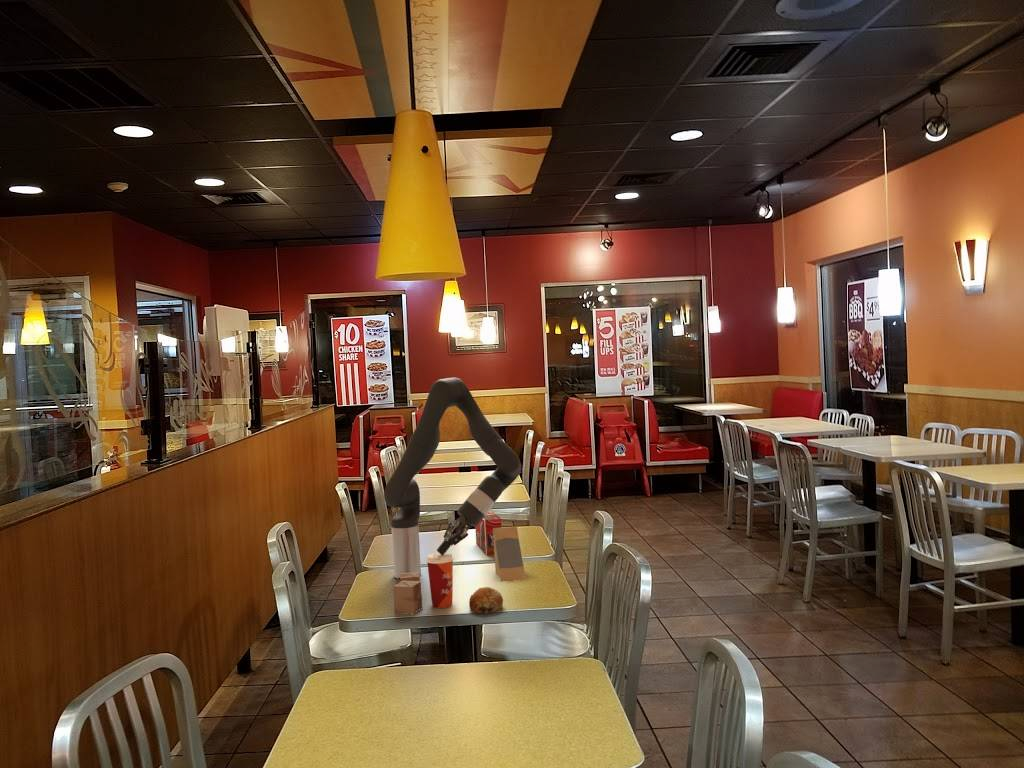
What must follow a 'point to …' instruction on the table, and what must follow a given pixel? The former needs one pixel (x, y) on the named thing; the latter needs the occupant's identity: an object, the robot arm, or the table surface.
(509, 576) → the sandwich container
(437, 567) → the coffee cup
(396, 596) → the three-dot block
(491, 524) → the ice cream box
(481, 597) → the bread roll
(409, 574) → the two-dot block
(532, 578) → the table surface
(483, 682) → the table surface
